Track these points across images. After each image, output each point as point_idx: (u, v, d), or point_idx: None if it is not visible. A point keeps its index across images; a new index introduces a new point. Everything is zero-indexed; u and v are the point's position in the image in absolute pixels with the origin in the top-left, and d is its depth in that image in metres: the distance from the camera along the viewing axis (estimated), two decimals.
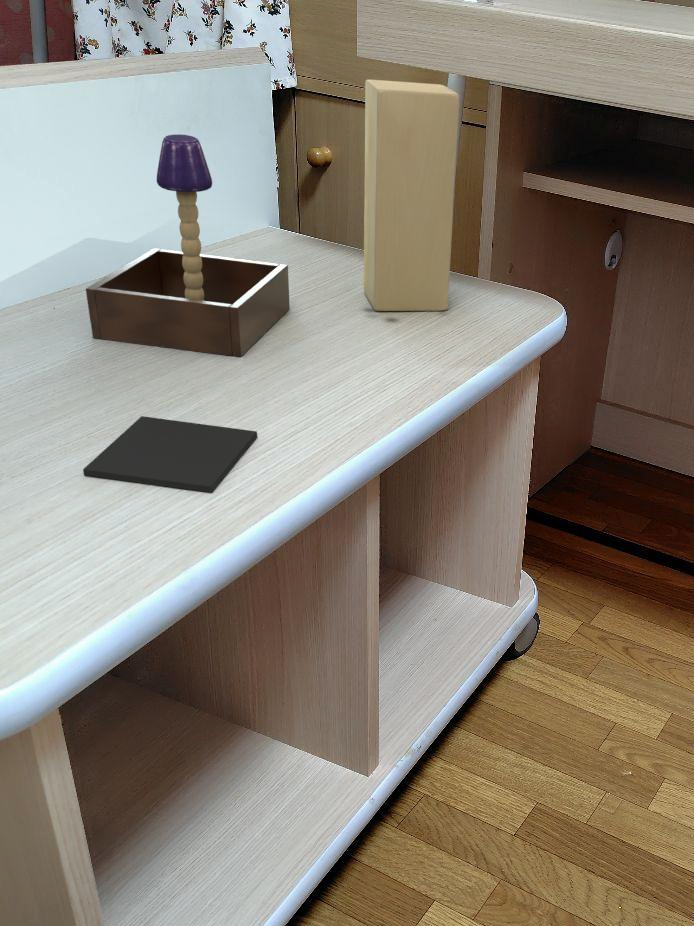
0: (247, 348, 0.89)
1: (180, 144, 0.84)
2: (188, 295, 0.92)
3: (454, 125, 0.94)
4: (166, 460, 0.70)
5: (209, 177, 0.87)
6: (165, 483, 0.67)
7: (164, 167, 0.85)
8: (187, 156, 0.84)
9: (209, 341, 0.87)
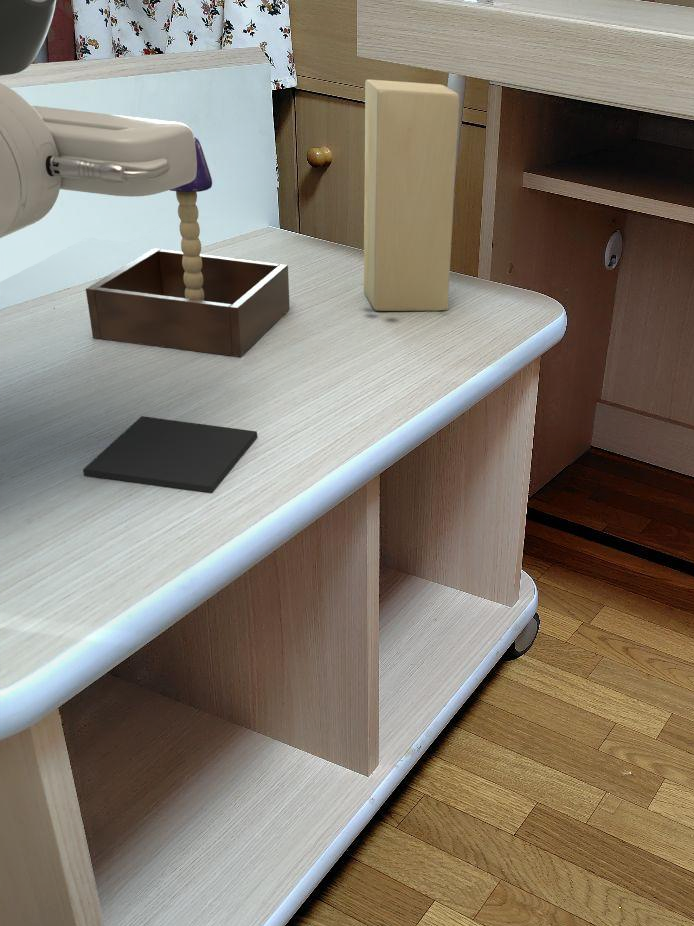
0: (247, 348, 0.89)
1: None
2: (188, 295, 0.92)
3: (454, 125, 0.94)
4: (166, 460, 0.70)
5: (209, 177, 0.87)
6: (165, 483, 0.67)
7: None
8: None
9: (209, 341, 0.87)
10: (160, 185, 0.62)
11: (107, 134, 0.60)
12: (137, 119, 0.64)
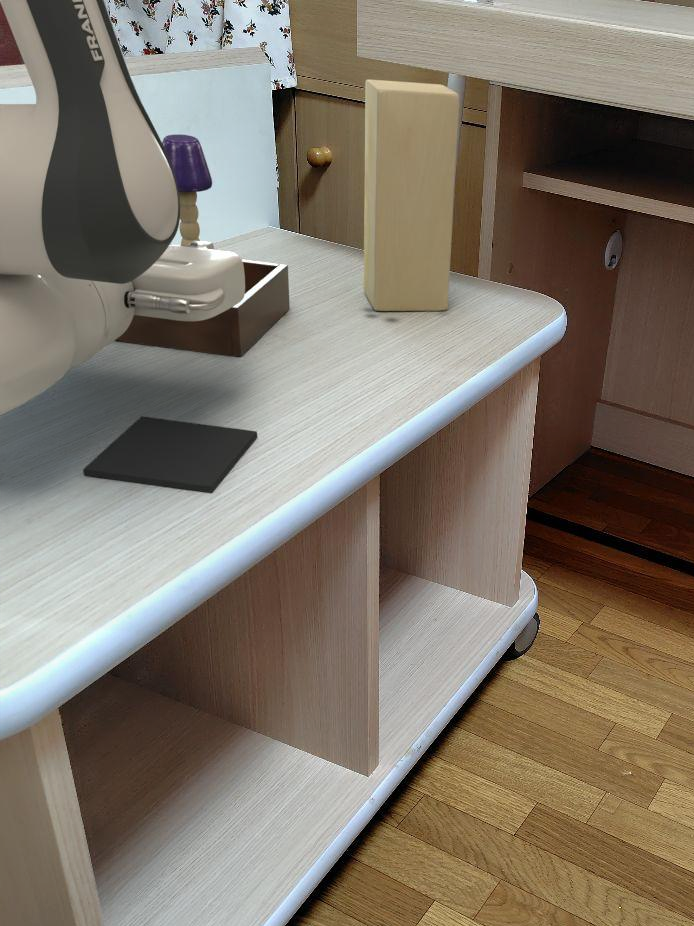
0: (247, 348, 0.89)
1: (180, 144, 0.84)
2: None
3: (454, 125, 0.94)
4: (166, 460, 0.70)
5: (209, 177, 0.87)
6: (165, 483, 0.67)
7: None
8: (187, 156, 0.84)
9: (209, 341, 0.87)
10: (216, 310, 0.74)
11: (174, 272, 0.71)
12: (196, 250, 0.76)
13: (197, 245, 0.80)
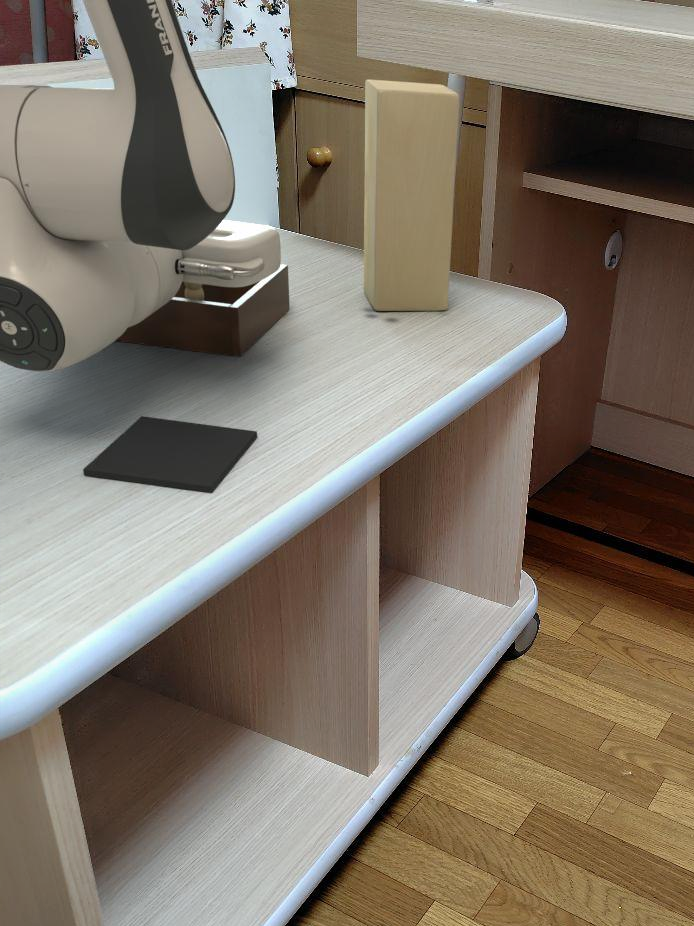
0: (247, 348, 0.89)
1: None
2: (188, 295, 0.92)
3: (454, 125, 0.94)
4: (166, 460, 0.70)
5: None
6: (165, 483, 0.67)
7: None
8: None
9: (209, 341, 0.87)
10: (256, 277, 0.81)
11: (219, 242, 0.79)
12: (236, 224, 0.83)
13: None
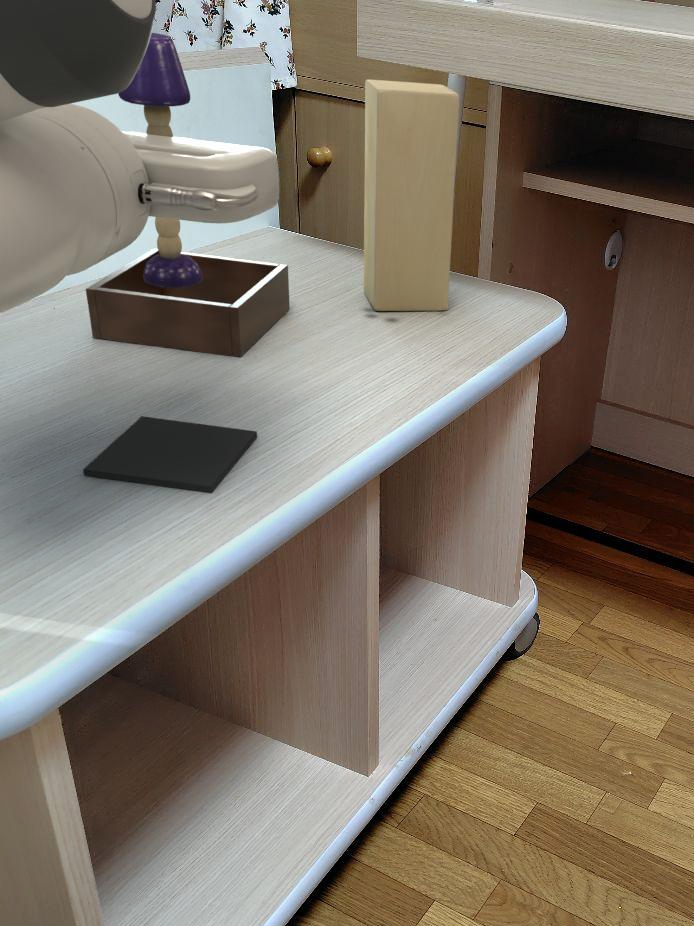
0: (247, 348, 0.89)
1: None
2: (161, 245, 0.72)
3: (454, 125, 0.94)
4: (166, 460, 0.70)
5: (186, 89, 0.67)
6: (165, 483, 0.67)
7: None
8: (157, 58, 0.65)
9: (209, 341, 0.87)
10: (247, 212, 0.62)
11: (198, 161, 0.59)
12: (221, 144, 0.64)
13: None
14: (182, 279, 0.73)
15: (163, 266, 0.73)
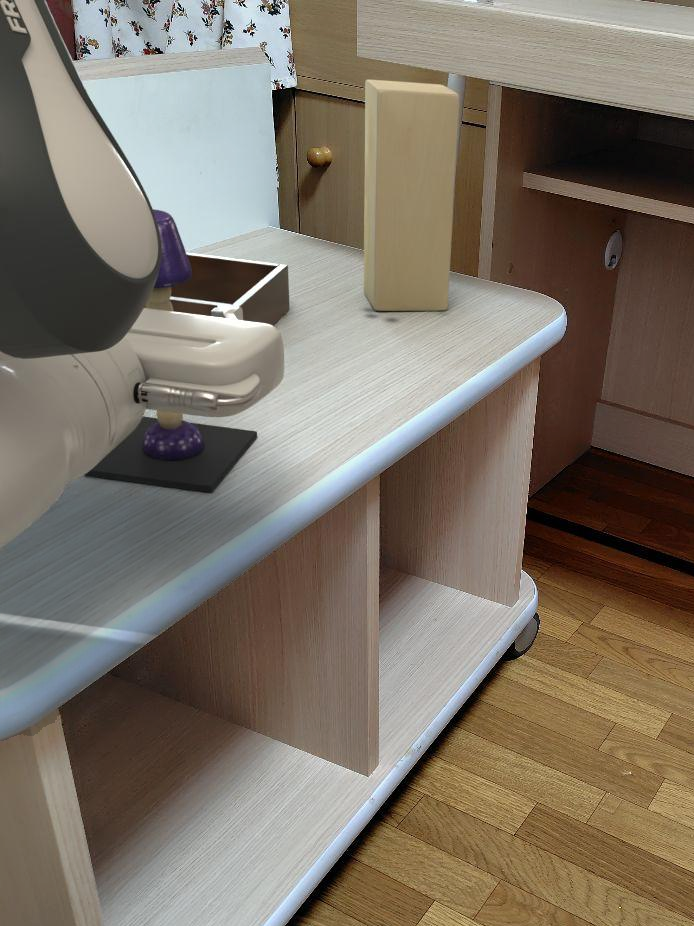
0: None
1: None
2: (161, 416, 0.69)
3: (454, 125, 0.94)
4: (166, 460, 0.70)
5: (187, 266, 0.64)
6: (165, 483, 0.67)
7: None
8: None
9: None
10: (250, 401, 0.58)
11: (197, 356, 0.55)
12: (223, 323, 0.60)
13: (223, 311, 0.64)
14: (182, 451, 0.70)
15: (163, 438, 0.69)
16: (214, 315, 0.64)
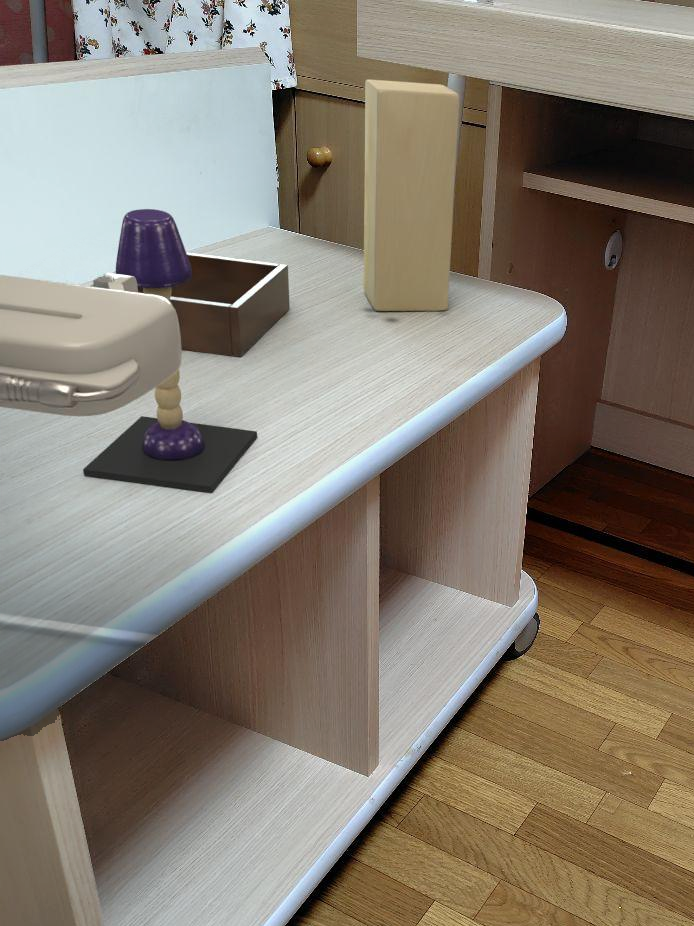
0: (247, 348, 0.89)
1: (147, 224, 0.61)
2: (161, 416, 0.69)
3: (454, 125, 0.94)
4: (166, 460, 0.70)
5: (187, 266, 0.64)
6: (165, 483, 0.67)
7: (126, 256, 0.62)
8: (156, 241, 0.62)
9: (209, 341, 0.87)
10: (128, 395, 0.44)
11: (50, 335, 0.42)
12: (98, 294, 0.46)
13: (108, 281, 0.50)
14: (182, 451, 0.70)
15: (163, 438, 0.69)
16: (97, 286, 0.51)
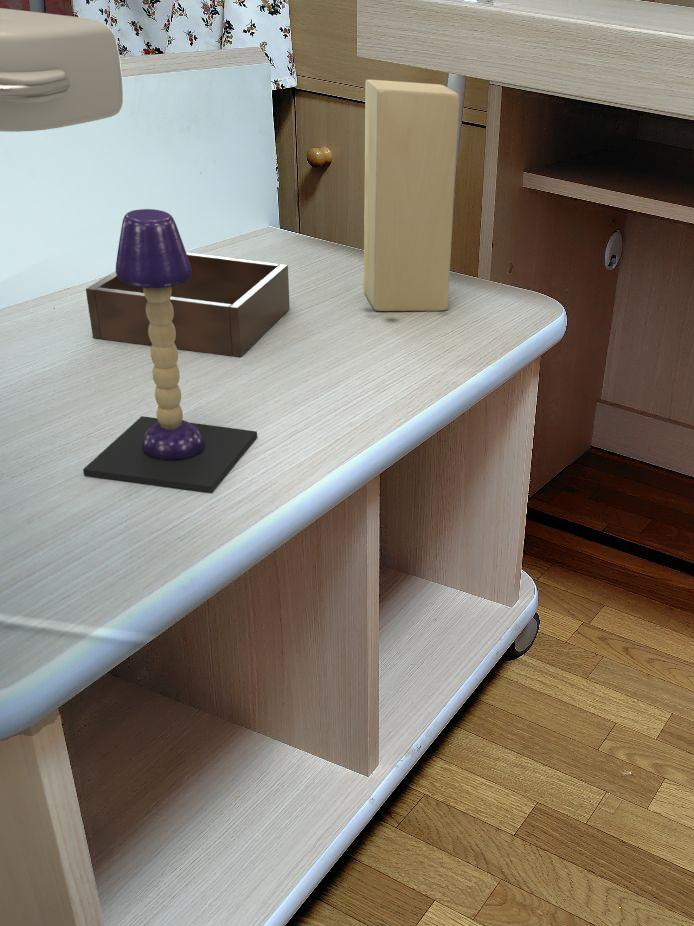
0: (247, 348, 0.89)
1: (147, 224, 0.61)
2: (161, 416, 0.69)
3: (454, 125, 0.94)
4: (166, 460, 0.70)
5: (187, 266, 0.64)
6: (165, 483, 0.67)
7: (126, 256, 0.62)
8: (156, 241, 0.62)
9: (209, 341, 0.87)
10: (56, 115, 0.38)
11: None
12: (25, 12, 0.40)
13: None
14: (182, 451, 0.70)
15: (163, 438, 0.69)
16: None
